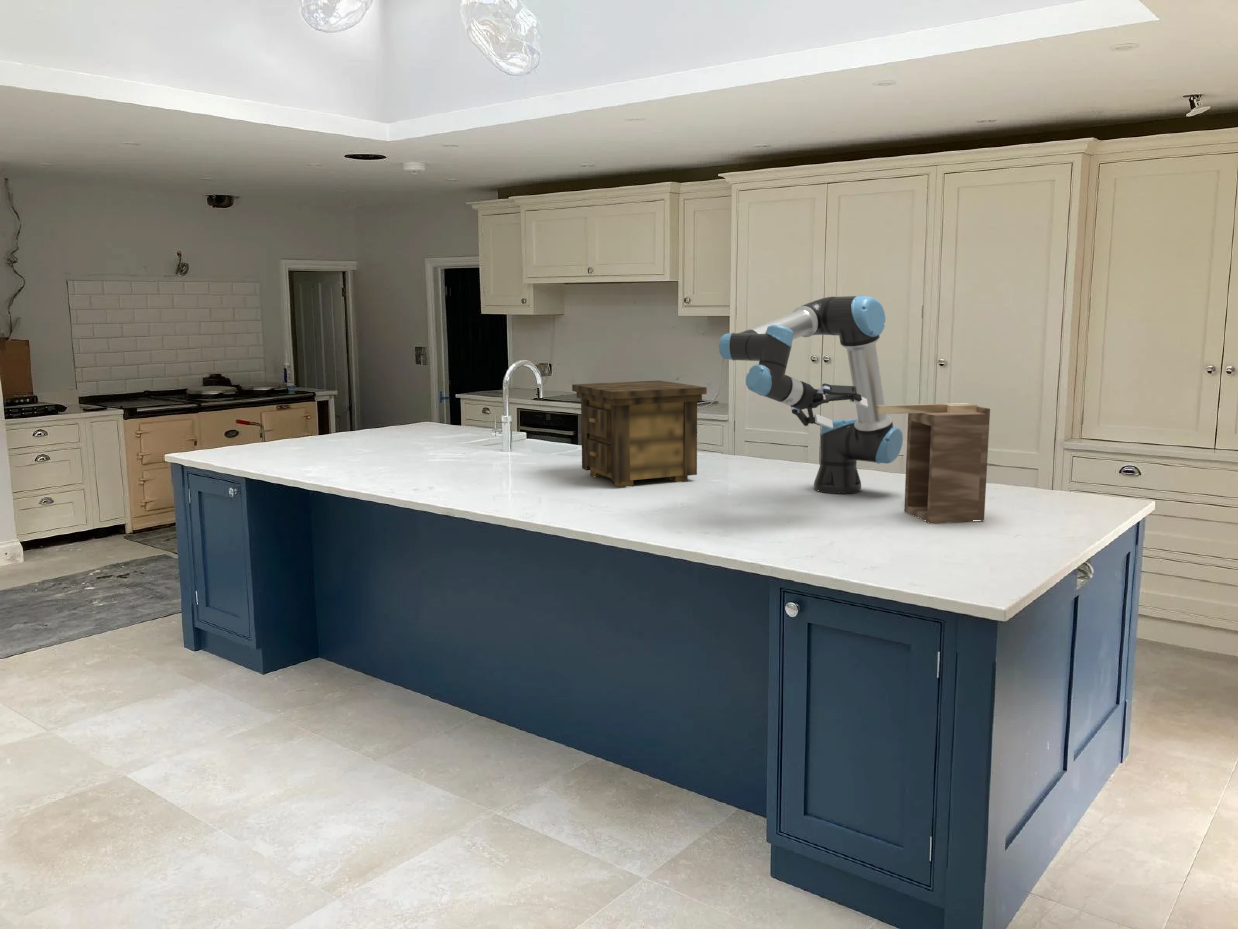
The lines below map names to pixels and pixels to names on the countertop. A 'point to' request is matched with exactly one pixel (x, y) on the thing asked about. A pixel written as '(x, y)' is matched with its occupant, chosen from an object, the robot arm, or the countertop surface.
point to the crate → (639, 429)
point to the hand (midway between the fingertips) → (848, 414)
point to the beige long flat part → (926, 408)
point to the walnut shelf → (947, 465)
